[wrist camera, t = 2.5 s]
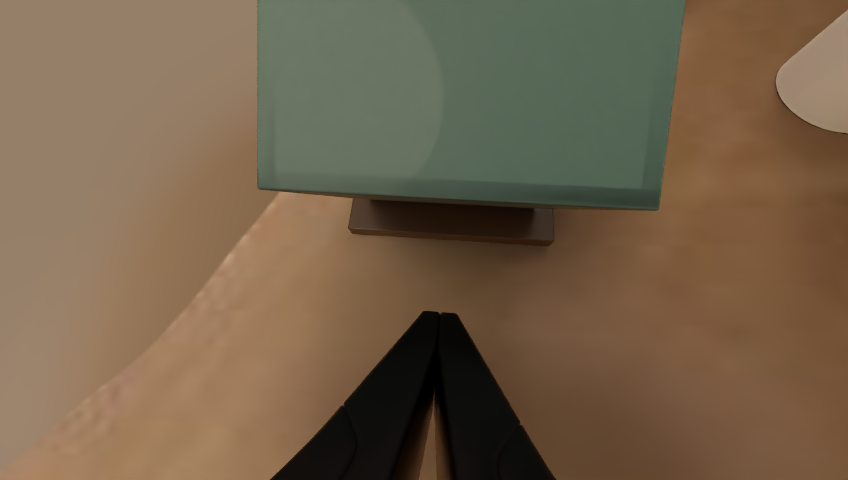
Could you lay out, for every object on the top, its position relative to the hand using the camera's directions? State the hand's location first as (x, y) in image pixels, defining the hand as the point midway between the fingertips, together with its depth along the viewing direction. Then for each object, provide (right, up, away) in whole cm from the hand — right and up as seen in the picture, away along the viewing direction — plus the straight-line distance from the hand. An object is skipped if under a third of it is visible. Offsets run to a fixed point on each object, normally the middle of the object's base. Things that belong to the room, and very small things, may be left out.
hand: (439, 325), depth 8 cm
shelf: (+1, +7, +12) cm, 14 cm away
